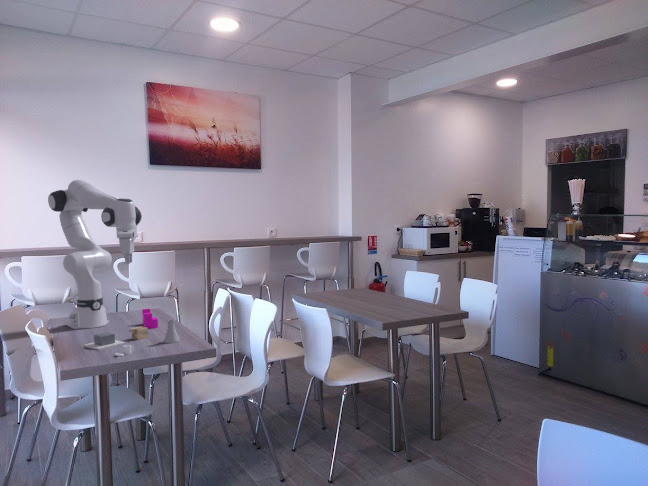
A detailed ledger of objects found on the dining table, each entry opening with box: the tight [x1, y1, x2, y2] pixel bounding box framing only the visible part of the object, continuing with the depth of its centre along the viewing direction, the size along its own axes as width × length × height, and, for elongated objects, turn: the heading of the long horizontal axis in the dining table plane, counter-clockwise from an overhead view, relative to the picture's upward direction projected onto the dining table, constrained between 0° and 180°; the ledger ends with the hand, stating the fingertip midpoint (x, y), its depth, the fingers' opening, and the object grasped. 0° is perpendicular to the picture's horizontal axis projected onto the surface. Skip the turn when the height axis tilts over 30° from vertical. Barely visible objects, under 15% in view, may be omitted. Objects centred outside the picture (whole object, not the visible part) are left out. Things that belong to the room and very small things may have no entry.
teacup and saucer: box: [114, 344, 135, 357], centre depth 210 cm, size 9×8×4 cm
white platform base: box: [83, 331, 126, 351], centre depth 225 cm, size 12×12×5 cm
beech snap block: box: [131, 326, 149, 341], centre depth 237 cm, size 5×5×5 cm
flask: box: [163, 319, 181, 344], centre depth 229 cm, size 7×7×10 cm
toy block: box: [141, 308, 159, 329], centre depth 264 cm, size 15×6×8 cm, turn 23°
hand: (128, 263), depth 240 cm, fingers open, 8 cm apart
